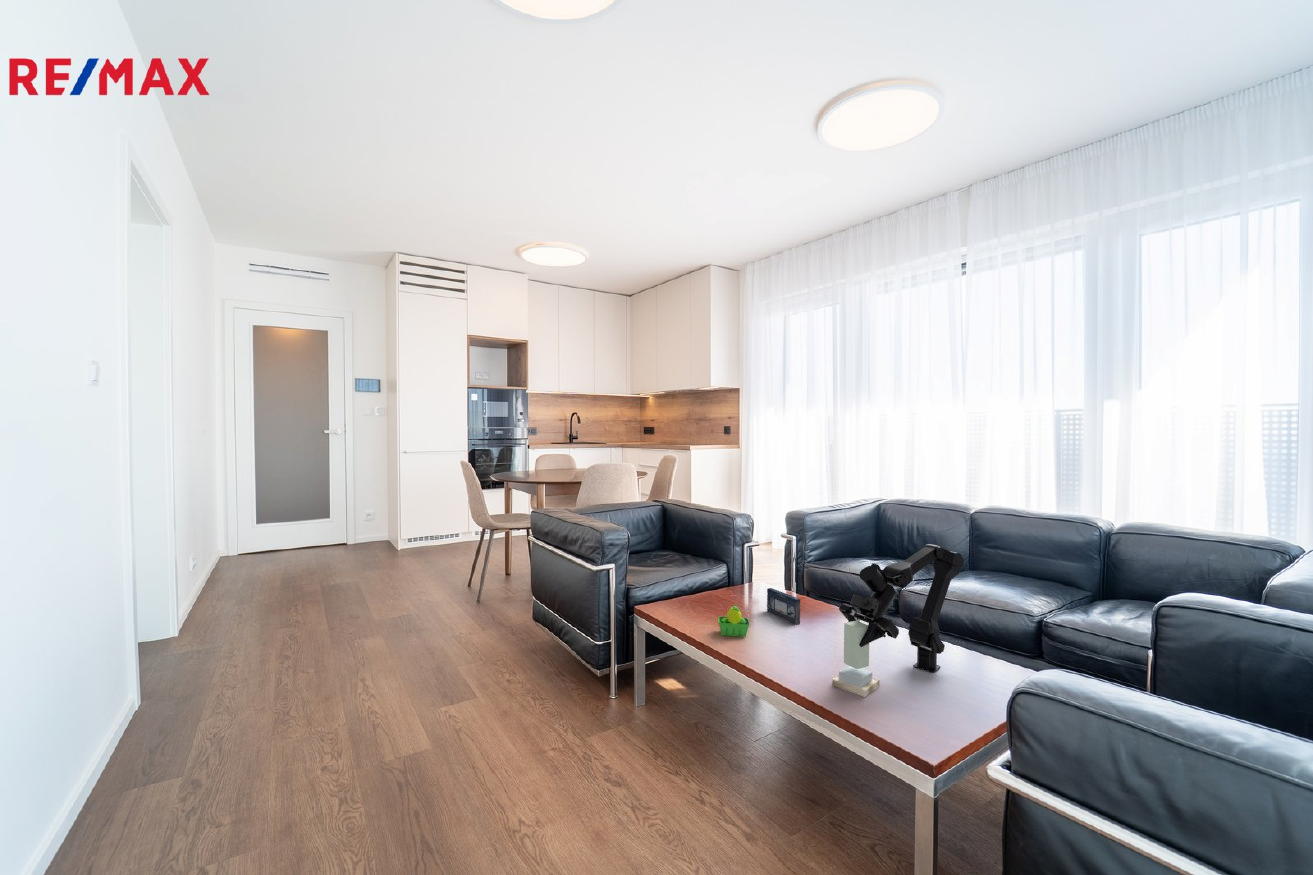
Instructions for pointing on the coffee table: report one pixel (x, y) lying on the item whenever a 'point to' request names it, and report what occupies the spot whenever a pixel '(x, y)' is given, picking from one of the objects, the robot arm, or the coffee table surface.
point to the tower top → (855, 676)
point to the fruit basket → (733, 623)
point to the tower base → (855, 689)
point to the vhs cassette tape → (783, 605)
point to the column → (855, 645)
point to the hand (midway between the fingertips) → (853, 643)
